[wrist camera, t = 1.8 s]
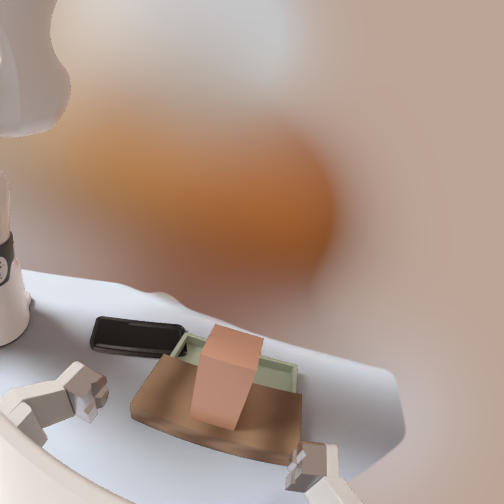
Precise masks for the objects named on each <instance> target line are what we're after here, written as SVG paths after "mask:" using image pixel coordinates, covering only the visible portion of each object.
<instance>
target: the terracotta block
mask: <svg viewBox="0 0 504 504" xmlns="http://www.w3.org/2000/svg"><path fill="white" fill-rule="evenodd" d="M263 340H264V338H261V337H257V336H254V335H250V334H247V333H243V332H240V331H237V330H233V329H230V328H227V327H223V326H220V325H217V324H215V326H214V328H213V330H212V332H211V334H210V335H209V337H208V339H207V341H206V343H205V345H204V347H203V349H202V351H201V353H200V357H199V363H198V368H197V374H196V380H195V385H194V391H193V397H192V403H191V409H190V416H189V417H190V418H193V419H196V420H199V421H202V422H205V423H208V424H211V425H215V426H218V427H221V428H225V429H228V430H232V431H234V429H235V426H236V424H237V421H238V419H239V416H240V414H241V411H242V409H243V406H244V403H245V401H246V398H247V396H248V393H249V390H250V388H251V385H252V382H253V380H254V377H255V374H256V372H257V367H258V363H259V358H260V354H261V349H262V344H263Z"/></svg>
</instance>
